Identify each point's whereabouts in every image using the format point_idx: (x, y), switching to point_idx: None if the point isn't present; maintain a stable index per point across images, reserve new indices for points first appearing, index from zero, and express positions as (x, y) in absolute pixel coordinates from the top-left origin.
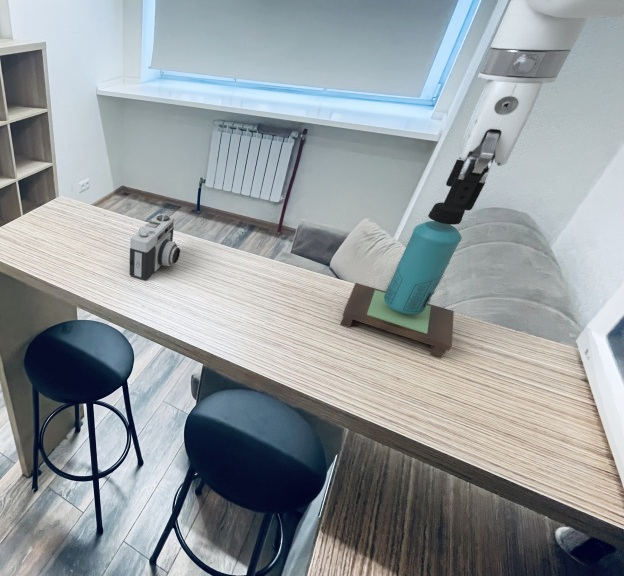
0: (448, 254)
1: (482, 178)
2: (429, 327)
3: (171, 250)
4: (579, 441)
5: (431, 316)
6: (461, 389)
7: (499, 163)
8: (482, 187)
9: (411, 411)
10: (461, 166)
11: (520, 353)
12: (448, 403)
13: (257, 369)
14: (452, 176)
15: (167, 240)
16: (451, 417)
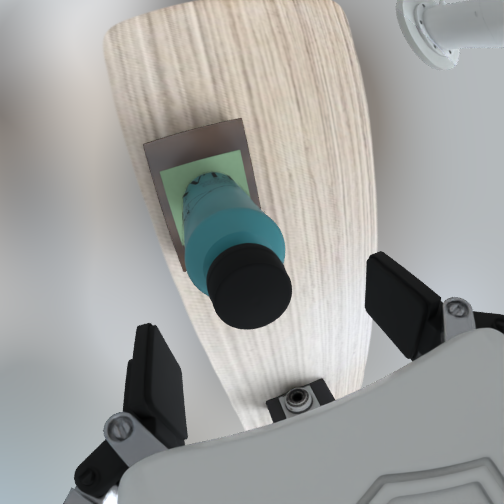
0: (252, 204)
1: (466, 312)
2: (219, 152)
3: (305, 401)
4: (267, 5)
5: (186, 160)
6: (273, 91)
7: (413, 361)
8: (429, 289)
9: (342, 126)
10: (179, 419)
11: (139, 61)
12: (306, 99)
13: (375, 250)
14: (180, 392)
15: (300, 412)
16: (324, 94)
